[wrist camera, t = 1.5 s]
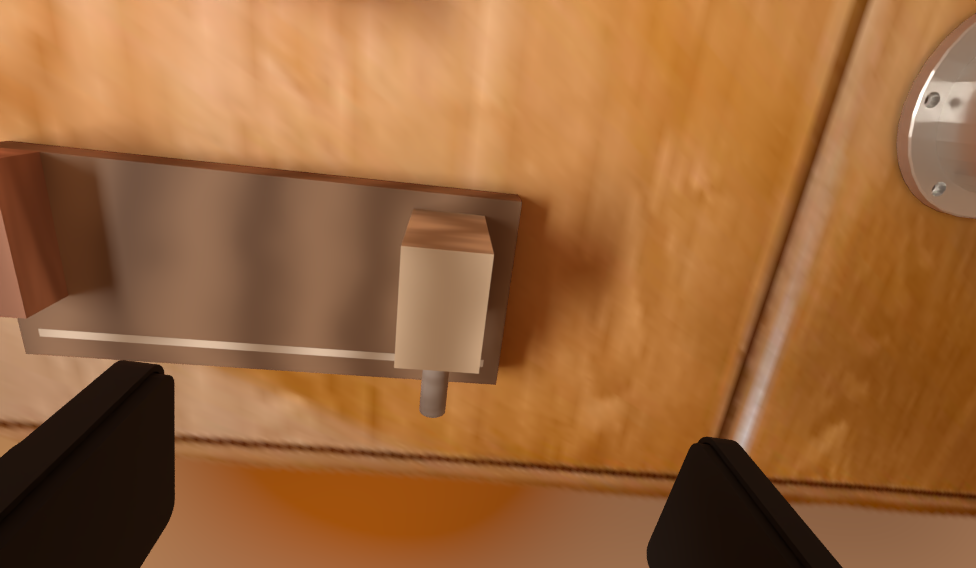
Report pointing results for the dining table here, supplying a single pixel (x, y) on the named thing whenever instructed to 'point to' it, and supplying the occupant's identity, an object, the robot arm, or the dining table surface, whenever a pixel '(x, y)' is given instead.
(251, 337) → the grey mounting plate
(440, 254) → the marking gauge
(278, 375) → the dining table surface
